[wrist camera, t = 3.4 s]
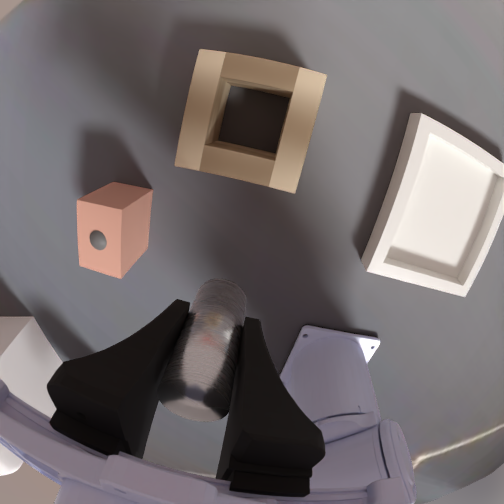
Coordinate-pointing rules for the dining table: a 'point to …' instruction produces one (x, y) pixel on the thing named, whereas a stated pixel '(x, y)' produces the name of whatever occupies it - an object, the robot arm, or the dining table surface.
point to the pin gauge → (206, 354)
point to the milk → (25, 371)
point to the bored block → (213, 107)
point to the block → (113, 227)
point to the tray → (437, 210)
